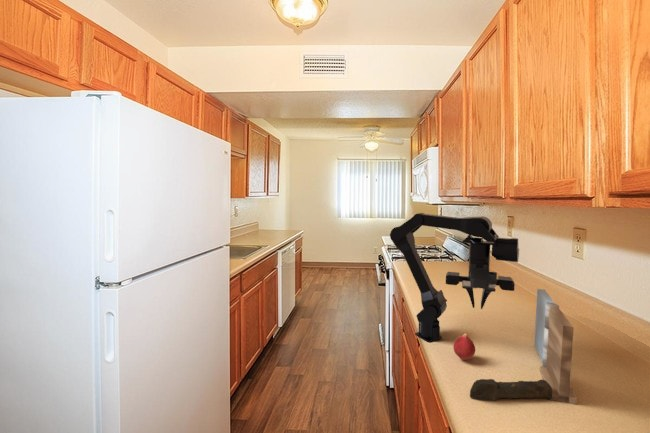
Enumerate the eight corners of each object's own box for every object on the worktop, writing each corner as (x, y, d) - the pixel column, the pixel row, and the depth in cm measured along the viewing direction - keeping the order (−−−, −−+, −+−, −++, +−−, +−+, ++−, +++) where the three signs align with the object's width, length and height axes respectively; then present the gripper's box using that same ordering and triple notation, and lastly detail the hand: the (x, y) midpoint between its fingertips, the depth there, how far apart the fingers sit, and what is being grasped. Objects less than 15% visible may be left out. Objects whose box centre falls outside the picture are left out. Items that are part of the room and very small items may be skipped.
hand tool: (542, 392, 82) (543, 374, 82) (553, 402, 78) (554, 383, 78) (465, 392, 82) (465, 374, 82) (472, 402, 78) (473, 384, 78)
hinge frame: (550, 399, 79) (555, 324, 77) (536, 365, 94) (540, 302, 92) (576, 404, 77) (581, 328, 75) (558, 368, 92) (561, 304, 90)
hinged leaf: (543, 370, 91) (547, 306, 89) (532, 343, 106) (535, 288, 104) (556, 372, 89) (560, 307, 88) (543, 345, 104) (546, 289, 103)
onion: (454, 364, 95) (455, 336, 94) (451, 354, 100) (452, 328, 99) (476, 366, 93) (477, 339, 92) (472, 356, 99) (473, 330, 98)
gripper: (445, 261, 97) (444, 313, 98) (518, 266, 90) (515, 322, 91) (447, 254, 107) (445, 301, 109) (512, 258, 100) (510, 308, 102)
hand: (477, 308), depth 102 cm, fingers closed
